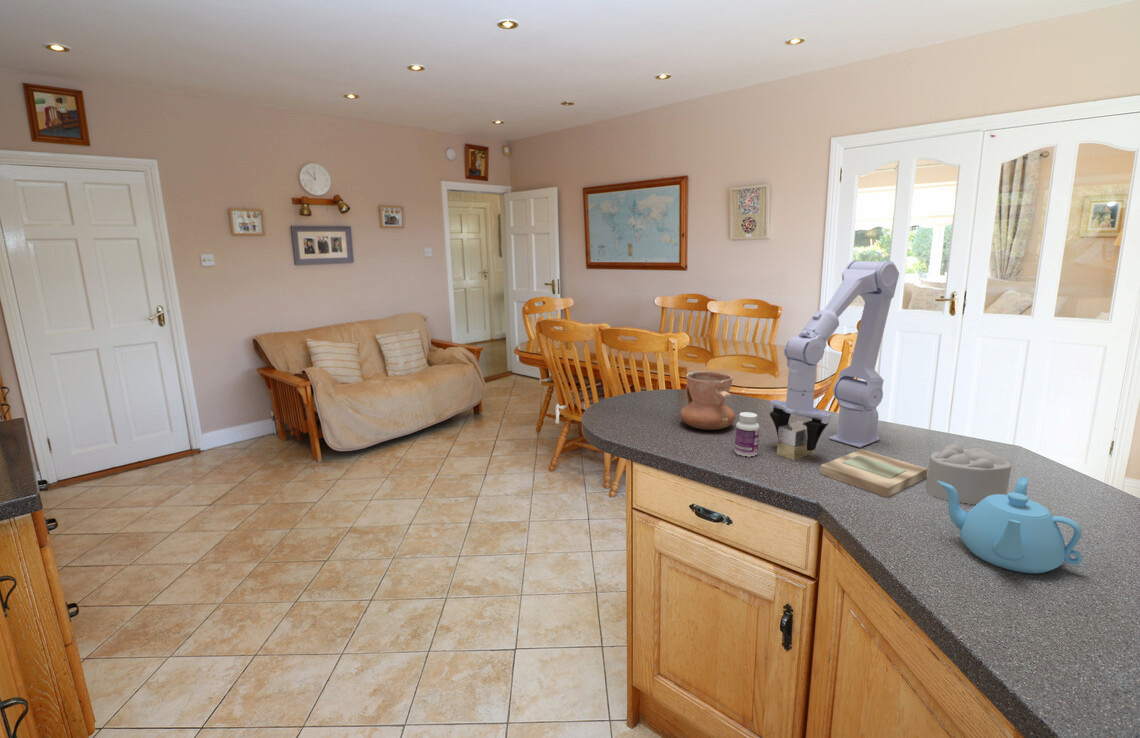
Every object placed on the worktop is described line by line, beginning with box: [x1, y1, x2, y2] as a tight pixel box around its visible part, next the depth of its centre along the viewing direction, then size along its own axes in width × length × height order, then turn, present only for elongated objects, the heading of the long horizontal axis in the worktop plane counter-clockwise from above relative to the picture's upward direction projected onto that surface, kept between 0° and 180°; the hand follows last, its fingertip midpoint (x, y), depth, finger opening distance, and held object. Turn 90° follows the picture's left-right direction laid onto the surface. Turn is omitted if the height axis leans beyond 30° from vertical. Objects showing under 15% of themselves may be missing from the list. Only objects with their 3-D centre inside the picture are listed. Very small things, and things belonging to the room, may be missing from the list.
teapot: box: [937, 475, 1084, 574], centre depth 85 cm, size 15×15×10 cm
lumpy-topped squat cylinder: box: [925, 443, 1012, 505], centre depth 107 cm, size 10×13×9 cm
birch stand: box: [819, 448, 928, 499], centre depth 116 cm, size 16×14×2 cm
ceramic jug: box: [680, 370, 736, 431], centre depth 149 cm, size 18×14×14 cm
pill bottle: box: [734, 411, 760, 458], centre depth 129 cm, size 5×5×10 cm
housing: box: [776, 420, 816, 461], centre depth 128 cm, size 8×4×7 cm, turn 124°
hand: (796, 444), depth 128 cm, fingers open, 7 cm apart
